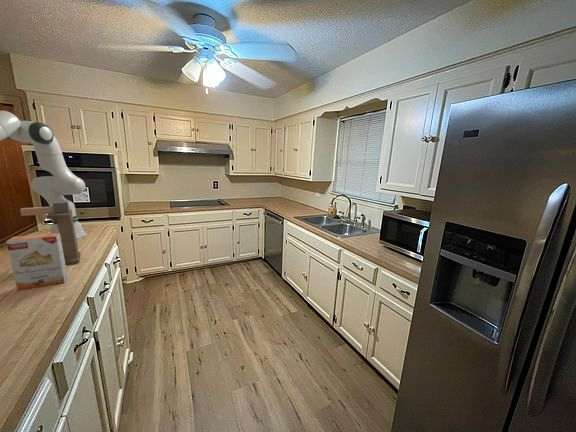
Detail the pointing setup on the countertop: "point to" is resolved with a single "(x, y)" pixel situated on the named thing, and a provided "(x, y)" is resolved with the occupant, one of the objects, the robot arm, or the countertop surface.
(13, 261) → the cracker box
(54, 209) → the terracotta bar
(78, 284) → the countertop surface
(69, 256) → the walnut stand
